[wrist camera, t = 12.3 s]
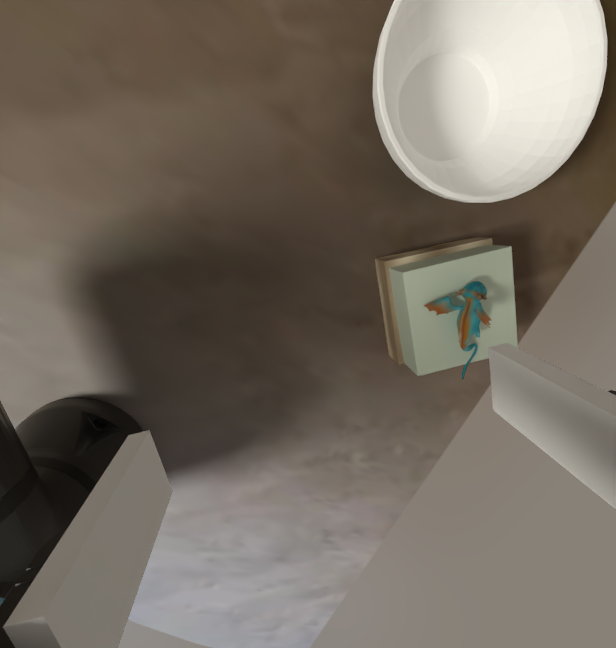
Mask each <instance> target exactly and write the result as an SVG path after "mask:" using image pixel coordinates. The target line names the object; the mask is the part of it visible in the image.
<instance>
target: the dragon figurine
mask: <svg viewBox="0 0 616 648" xmlns="http://www.w3.org/2000/svg"><path fill="white" fill-rule="evenodd" d="M486 294H487V289H486V287H485V286H484V284H483V283H481V282H479V281H475V282H471V283H469V284H467V285H466V286H465V287H464V288H463V289H462V290H459V291H458V292H456V293H455V294H453V295H454V296H458V295H461V296H462V297H463V298H464V299H465V303H464V304H463V305H462V306H456V305H453V304H452V302H451V299H450V297H444V298H441V299H439V300H437V301H434V302H431V303H428V304H426V305H424V306H425V307H427V308H428V309H429V311H436V312H437V314H436V315H439V314H444V313H446V314H448V313H449V312H453V311H455V310H460V312H459V314H458V317H457V328H458V335H459V343H460V347H461V348H462V350H463V351H470V350H472V349H473V348H474V347H475V350H474V353H473V354H472V356H471V358H470V359H469V360H468V362H467V363H466V365H465V366H464V369H463V373H462V379H463V378H464V374H465V371H466V368H467V366H468V364H469V363H470V361H471V360H472V358H473V357H474V356H475V354H476V352H477V348H478V346H477V344H475V343H473V344H471V345H468V344H469V341H470V339H471V337H472V335H473V334H476V337H479V338H480V329H479V325H480V322H481V321H482V322H483V323H484V324H485V325H487V324H488V325H491V324H490V323H489V321H492V320H491V319H490V317H489V316H488V315H487V314H486V313H485V312H484V310H483V308H482V304H481V303H480V302H479V301H480V300H482V299H484V300H486V299H487V298H486ZM486 323H487V324H486ZM488 325H487V326H488ZM488 327H490V326H488ZM490 328H491V327H490Z"/></svg>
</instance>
